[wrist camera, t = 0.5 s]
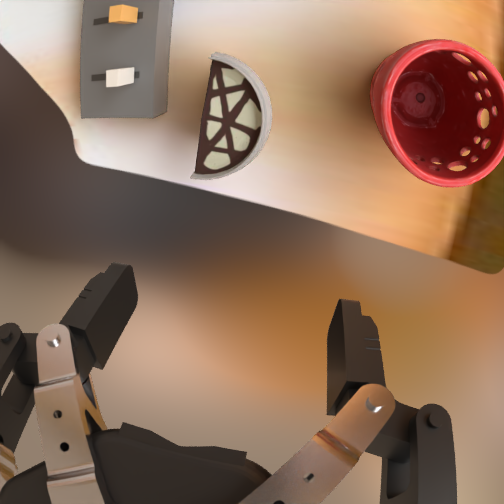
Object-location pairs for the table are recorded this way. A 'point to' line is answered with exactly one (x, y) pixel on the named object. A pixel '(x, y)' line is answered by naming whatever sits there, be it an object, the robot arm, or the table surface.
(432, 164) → the plant pot
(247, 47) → the table surface
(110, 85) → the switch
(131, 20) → the switch mid
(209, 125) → the food container
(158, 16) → the breaker block
